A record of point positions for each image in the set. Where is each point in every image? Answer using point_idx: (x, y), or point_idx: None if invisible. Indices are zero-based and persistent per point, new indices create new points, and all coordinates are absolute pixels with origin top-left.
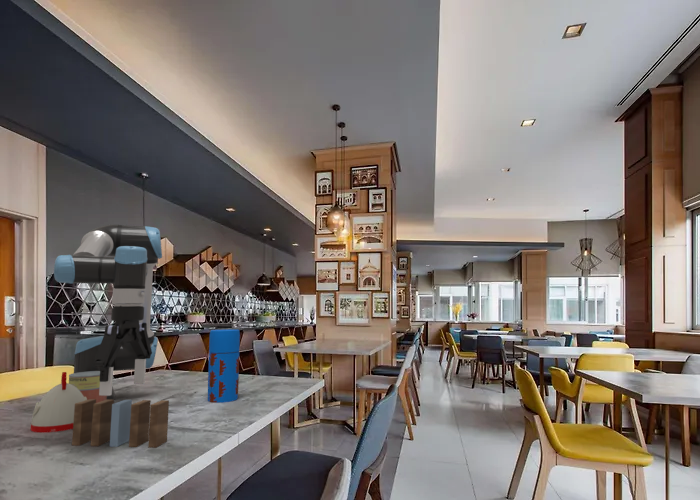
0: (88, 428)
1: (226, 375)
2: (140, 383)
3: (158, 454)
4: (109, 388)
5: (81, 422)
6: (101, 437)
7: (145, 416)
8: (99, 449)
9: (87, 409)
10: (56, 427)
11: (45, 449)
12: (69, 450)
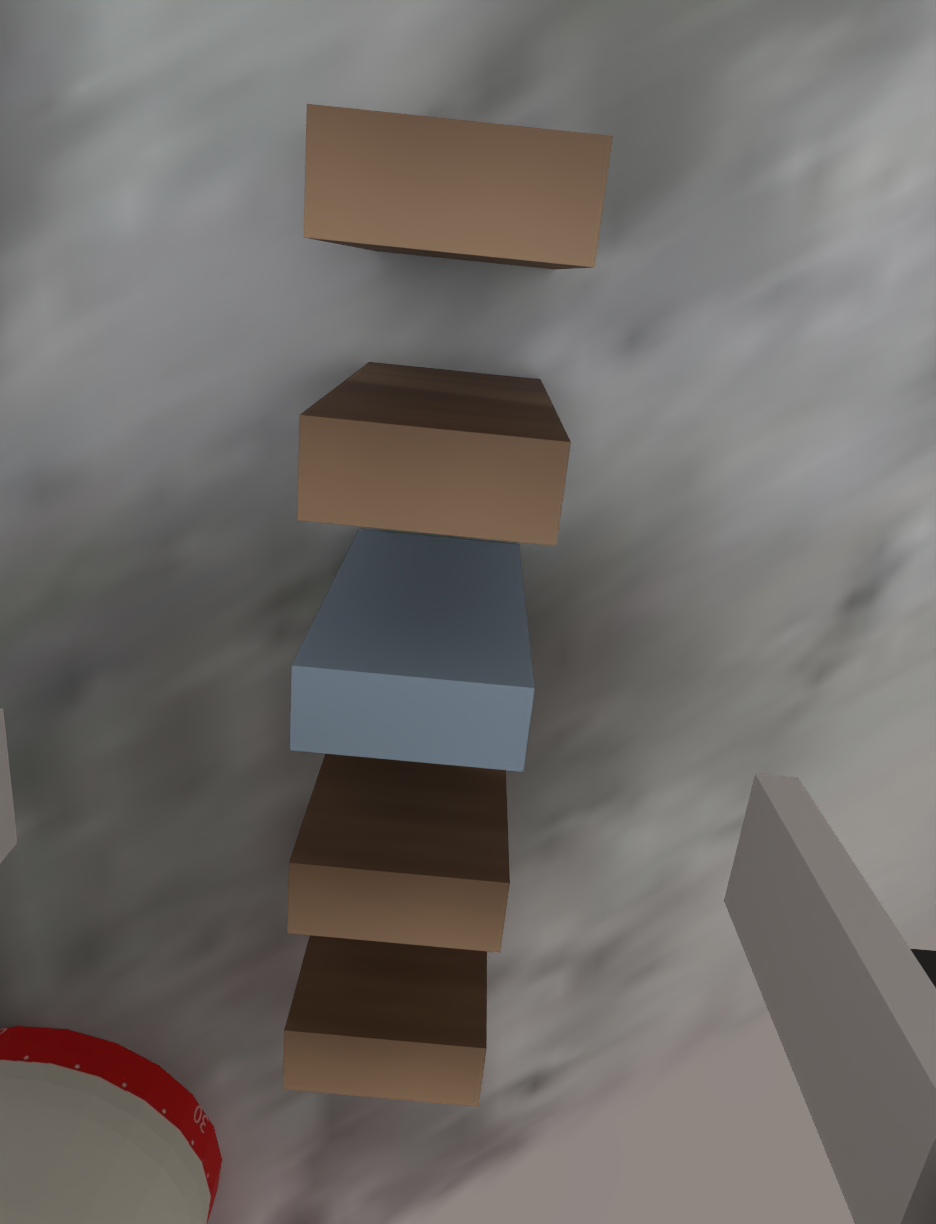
0: None
1: None
2: (2, 753)
3: (743, 74)
4: (836, 840)
5: None
6: None
7: (416, 399)
8: (572, 640)
9: (411, 984)
10: (186, 1122)
11: (550, 959)
12: (580, 818)
